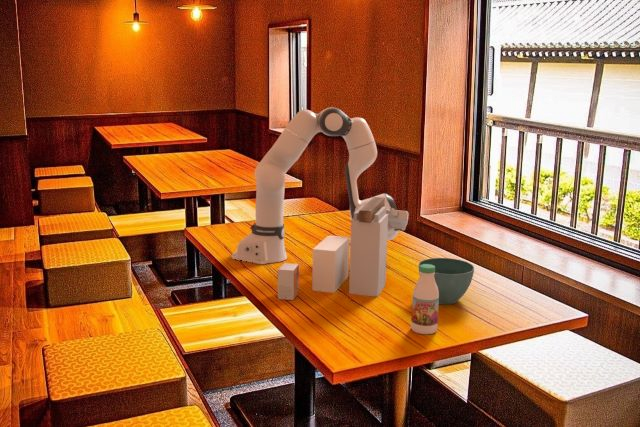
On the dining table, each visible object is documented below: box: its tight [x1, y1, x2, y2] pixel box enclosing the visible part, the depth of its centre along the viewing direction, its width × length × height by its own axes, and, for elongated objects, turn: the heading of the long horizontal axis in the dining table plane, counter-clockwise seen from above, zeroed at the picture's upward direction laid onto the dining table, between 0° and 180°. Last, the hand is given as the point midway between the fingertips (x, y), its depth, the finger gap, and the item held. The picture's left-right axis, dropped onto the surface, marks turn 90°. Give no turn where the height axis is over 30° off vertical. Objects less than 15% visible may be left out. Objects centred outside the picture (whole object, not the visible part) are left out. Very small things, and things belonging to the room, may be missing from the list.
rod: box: [359, 196, 385, 223], centre depth 230 cm, size 4×24×4 cm, turn 164°
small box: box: [277, 262, 300, 301], centre depth 223 cm, size 8×6×10 cm
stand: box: [348, 205, 388, 298], centre depth 230 cm, size 10×14×28 cm
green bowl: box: [418, 257, 475, 305], centre depth 221 cm, size 18×18×12 cm
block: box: [311, 234, 350, 294], centre depth 237 cm, size 8×20×15 cm, turn 164°
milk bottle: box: [410, 264, 439, 335], centre depth 195 cm, size 8×8×20 cm
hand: (378, 209), depth 241 cm, fingers open, 8 cm apart
